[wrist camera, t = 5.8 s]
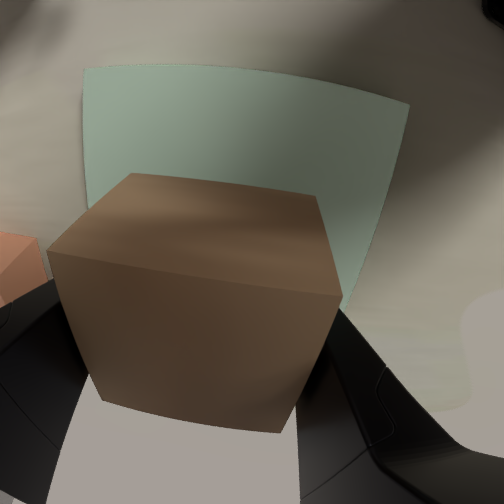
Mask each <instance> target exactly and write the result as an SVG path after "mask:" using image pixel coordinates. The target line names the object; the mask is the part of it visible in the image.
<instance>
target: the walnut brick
mask: <svg viewBox="0 0 504 504" xmlns="http://www.w3.org/2000/svg"><path fill="white" fill-rule="evenodd" d="M46 251H47V255H48V259H49V262H50V266H51V270H52V273H53V277H54V280H55V284H56V287H57V290H58V293H59V296H60V300H61V303H62V306H63V309H64V311H65V314H66V317H67V320H68V323H69V325H70V328H71V331H72V333H73V336H74V339H75V341H76V344H77V346H78V349H79V351H80V353H81V356H82V358H83V361H84V363H85V365H86V367H87V370H88V372H89V374H90V376H91V378H92V381H93V382H94V385H95V387H96V389H97V391H98V393H99V395H100V397H101V399H102V400H103V401H106V402H110V403H113V404H117V405H120V406H124V407H127V408H131V409H134V410H138V411H142V412H146V413H150V414H154V415H159V416H163V417H168V418H172V419H177V420H182V421H188V422H193V423H199V424H204V425H211V426H218V427H224V428H232V429H240V430H248V431H258V432H269V433H281V431H282V430H283V428H284V426H285V424H286V422H287V420H288V418H289V416H290V414H291V412H292V410H293V408H294V406H295V404H296V402H297V400H298V398H299V396H300V394H301V392H302V390H303V388H304V386H305V384H306V382H307V380H308V378H309V375H310V373H311V371H312V369H313V367H314V365H315V362H316V360H317V358H318V356H319V353H320V351H321V349H322V347H323V344H324V342H325V340H326V337H327V335H328V333H329V330H330V328H331V326H332V323H333V321H334V318H335V316H336V313H337V311H338V309H339V306H340V303H341V301H342V298H343V294H342V290H341V286H340V282H339V278H338V274H337V270H336V266H335V262H334V259H333V255H332V251H331V247H330V244H329V240H328V237H327V233H326V230H325V226H324V223H323V219H322V216H321V213H320V209H319V206H318V203H317V199H316V196H313V195H308V194H302V193H296V192H289V191H283V190H276V189H270V188H263V187H256V186H249V185H242V184H234V183H227V182H219V181H210V180H202V179H193V178H184V177H174V176H164V175H153V174H141V173H130V174H129V175H128V176H127V177H125V178H124V179H123V180H122V181H121V182H119V183H118V184H117V185H116V186H115V187H114V188H112V189H111V190H110V191H109V192H108V193H107V194H105V195H104V196H103V197H102V198H101V199H100V200H99V201H97V202H96V203H95V204H94V205H93V206H92V207H91V208H90V209H89V210H87V211H86V212H85V213H84V214H83V215H82V216H81V217H80V218H79V219H78V220H77V221H76V222H75V223H74V224H72V225H71V226H70V227H69V228H68V229H67V230H66V231H65V232H64V233H63V234H62V235H61V236H60V237H59V238H58V239H57V240H56V241H55V242H54V243H53V244H52V245H51V246H50V247H49V248H48V249H47V250H46Z"/></svg>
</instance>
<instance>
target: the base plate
mask: <svg viewBox="0 0 504 504" xmlns="http://www.w3.org/2000/svg"><path fill="white" fill-rule="evenodd" d="M409 108H410V105H409V104H406V103H403V102H400V101H397V100H394V99H391V98H387V97H384V96H381V95H377V94H374V93H370V92H367V91H363V90H359V89H355V88H351V87H347V86H343V85H339V84H335V83H330V82H326V81H321V80H316V79H311V78H306V77H300V76H295V75H289V74H283V73H276V72H269V71H261V70H253V69H244V68H234V67H222V66H207V65H182V64H149V65H124V66H110V67H98V68H88V69H84V76H83V149H84V167H85V180H86V191H87V201H88V210H89V209H90V208H91V207H92V206H93V205H94V204H95V203H96V202H97V201H99V200H100V199H101V198H102V197H103V196H104V195H105V194H107V193H108V192H109V191H110V190H111V189H112V188H114V187H115V186H116V185H117V184H118V183H119V182H121V181H122V180H123V179H124V178H125V177H127V176H128V175H129V174H130V173H141V174H153V175H164V176H174V177H184V178H193V179H202V180H210V181H219V182H227V183H234V184H242V185H249V186H256V187H263V188H270V189H276V190H283V191H289V192H296V193H302V194H308V195H313V196H316V199H317V203H318V206H319V209H320V213H321V216H322V219H323V223H324V226H325V230H326V233H327V237H328V240H329V244H330V247H331V251H332V255H333V259H334V262H335V266H336V270H337V274H338V278H339V282H340V286H341V290H342V294H343V298H342V301H341V303H340V306H339V308H340V309H341V310H342V312H343V313H344V311H345V309H346V306H347V304H348V302H349V299H350V297H351V294H352V292H353V289H354V287H355V284H356V282H357V279H358V276H359V274H360V271H361V269H362V266H363V263H364V260H365V258H366V255H367V252H368V250H369V247H370V244H371V241H372V238H373V235H374V232H375V229H376V227H377V224H378V221H379V217H380V214H381V211H382V208H383V205H384V202H385V199H386V195H387V192H388V189H389V185H390V182H391V179H392V175H393V172H394V168H395V165H396V161H397V157H398V153H399V150H400V146H401V142H402V138H403V134H404V130H405V126H406V121H407V117H408V113H409Z"/></svg>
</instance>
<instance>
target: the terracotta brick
mask: <svg viewBox="0 0 504 504" xmlns="http://www.w3.org/2000/svg"><path fill="white" fill-rule="evenodd" d="M46 282H48V279H47V276H46V272H45V269H44V266H43V262H42V258H41V255H40V251H39V247H38V243H37V239H36V238H33V237H27V236H21V235H15V234H10V233H4V232H0V308H1V307H3V306H4V305H6V304H8V303H9V302H13V300H15V299H17V298H18V297H20V296H22V295H24V294H26V293H27V292H29V291H31V290H33V289H35V288H37V287H38V286H40V285H42V284H44V283H46Z"/></svg>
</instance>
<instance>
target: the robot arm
mask: <svg viewBox="0 0 504 504" xmlns="http://www.w3.org/2000/svg"><path fill="white" fill-rule="evenodd" d="M492 8H493V9H494V11H495V14H494V13H493V11H492ZM482 10H483V12H484V14H485V16H486V17H487V18H488V19H489V20H490V21H492V22H493V23H495V24H496V25H498V26H499V27H501V28H502V29H504V0H482ZM88 374H89V372H88V370H87V367H86V365H85V363H84V361H83V358H82V356H81V353H80V351H79V349H78V346H77V344H76V341H75V339H74V336H73V333H72V331H71V328H70V325H69V323H68V320H67V317H66V314H65V311H64V309H63V306H62V303H61V300H60V296H59V293H58V290H57V287H56V284H55V280H54V278H53V279H51V280H49V281H48V282H46V283H44V284H42V285H40V286H38V287H37V288H35V289H33V290H31V291H29V292H27V293H26V294H24V295H22V296H20V297H18V298H17V299H15V300H13V302H9V303H8V304H6V305H4V306H3V307H1V308H0V504H12V502H13V499H14V498H16V499H18V500H20V501H22V502H24V503H26V504H46V501H47V496H48V493H49V489H50V485H51V482H52V478H53V474H54V471H55V468H56V465H57V461H58V458H59V455H60V450H61V448H62V445H63V442H64V439H65V436H66V433H67V430H68V427H69V424H70V421H71V419H72V416H73V413H74V410H75V408H76V405H77V402H78V399H79V397H80V394H81V392H82V389H83V387H84V384H85V382H86V379H87V377H88ZM295 405H296V420H297V421H296V422H297V438H298V459H299V481H300V499H301V501H300V504H504V458H501V457H496V456H492V455H488V454H483V453H479V452H475V451H472V450H470V449H467V448H465V447H464V446H462V445H460V444H459V443H458V442H456V441H455V440H454V439H453V438H452V437H451V436H450V435H449V434H448V433H447V432H446V431H445V430H444V429H443V428H442V427H441V426H440V425H439V424H438V423H437V422H436V421H435V419H433V417H431V415H430V414H429V413H428V412H427V411H426V410H425V409H424V408H423V407H422V406H421V405H420V404H419V403H418V402H417V401H416V399H415V398H414V397H413V396H412V395H411V394H410V393H409V392H408V391H407V390H406V388H405V387H404V386H403V385H402V384H401V382H400V381H399V380H398V379H397V378H396V376H395V375H394V374H393V373H392V371H391V370H390V369H389V368H388V367H386V364H385V363H384V362H383V360H382V359H381V358H380V357H379V355H378V354H377V353H376V352H375V351H374V349H373V348H372V347H371V346H370V344H369V343H368V342H367V341H366V339H365V338H364V337H363V336H362V335H361V333H360V332H359V331H358V330H357V329H356V327H355V326H354V325H353V324H352V322H351V321H350V320H349V319H348V318H347V316H346V315H345V314H344V313H343V312H342V310H341V309H340V308H339V309H338V311H337V313H336V316H335V318H334V321H333V323H332V326H331V328H330V330H329V333H328V335H327V337H326V340H325V342H324V344H323V347H322V349H321V351H320V353H319V356H318V358H317V360H316V362H315V365H314V367H313V369H312V371H311V373H310V375H309V378H308V380H307V382H306V384H305V386H304V388H303V390H302V392H301V394H300V396H299V398H298V400H297V402H296V404H295Z"/></svg>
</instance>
